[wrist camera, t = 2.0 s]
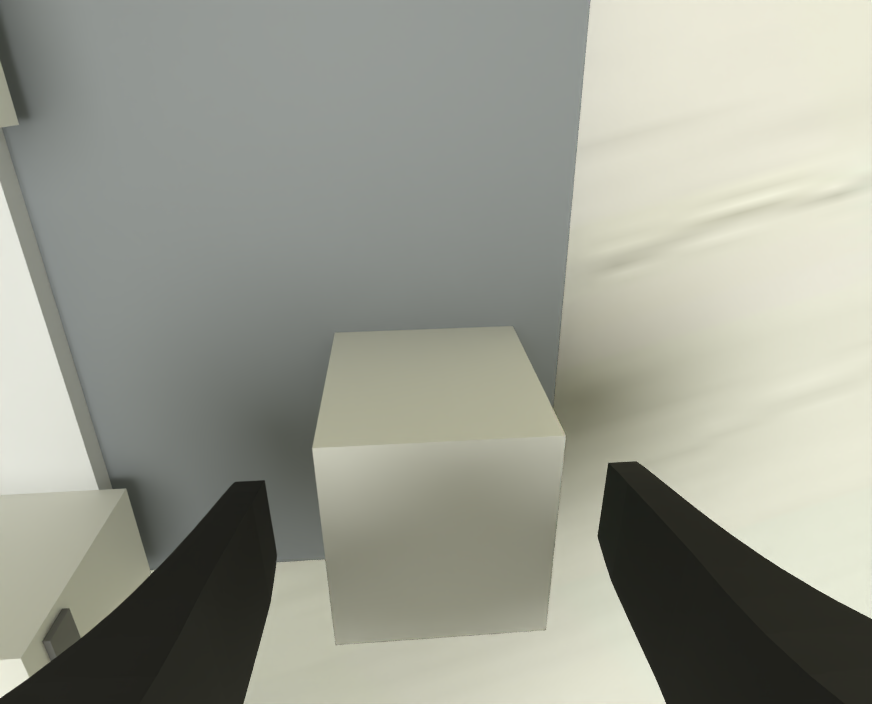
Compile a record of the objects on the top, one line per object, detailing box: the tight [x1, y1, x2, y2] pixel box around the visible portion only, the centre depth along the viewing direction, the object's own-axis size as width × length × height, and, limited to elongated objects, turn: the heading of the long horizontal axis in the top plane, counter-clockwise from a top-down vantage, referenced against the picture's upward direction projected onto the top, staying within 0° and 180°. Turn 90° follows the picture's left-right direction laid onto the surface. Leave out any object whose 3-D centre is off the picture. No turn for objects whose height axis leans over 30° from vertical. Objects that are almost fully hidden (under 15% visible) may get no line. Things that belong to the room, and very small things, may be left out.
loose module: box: [312, 326, 566, 645], centre depth 14 cm, size 5×4×5 cm
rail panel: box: [0, 0, 590, 698], centre depth 12 cm, size 16×20×7 cm
